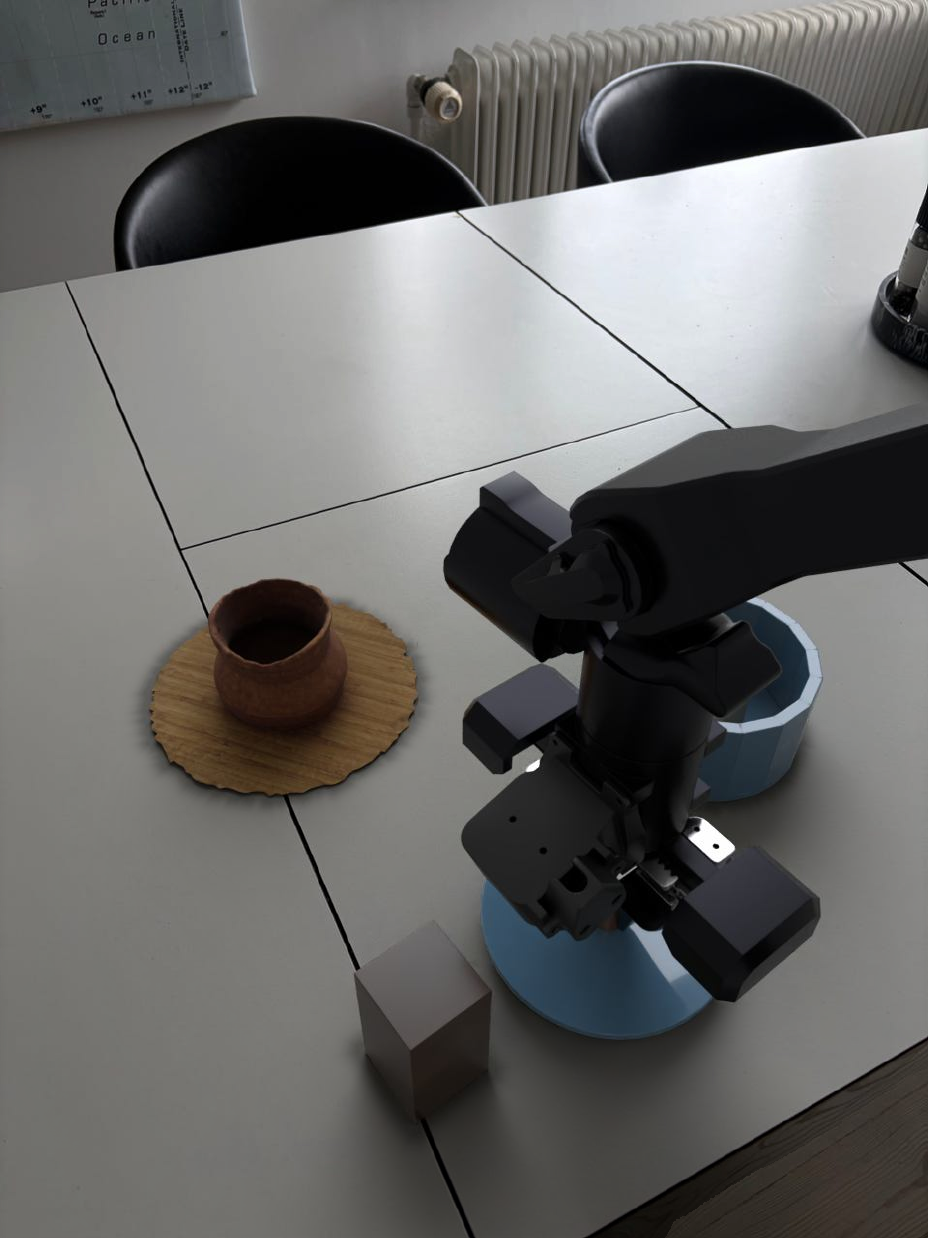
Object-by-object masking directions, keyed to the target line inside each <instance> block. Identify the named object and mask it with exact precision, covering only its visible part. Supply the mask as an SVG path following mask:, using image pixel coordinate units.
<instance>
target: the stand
mask: <svg viewBox="0 0 928 1238" xmlns="http://www.w3.org/2000/svg"><path fill="white" fill-rule="evenodd" d="M353 979H354V985H355V993H356V999H357V1006H358V1012H359V1013H358V1014H359V1020H360V1027H361V1033H362V1040H363V1047H364V1052H365V1053H366V1055H367V1056H368V1058H369V1060H370V1061H371V1062H372V1064H373V1065H374V1067H375V1068H376V1069H377V1071H378V1072H379V1074H380V1075H381V1077H382V1078H383V1079H384V1081H385V1082H386V1084H387V1085H388V1086H389V1088H390V1090H391V1091H392V1093H393V1094H394V1095H395V1097H396V1098H397V1100H398V1101H399V1103H400V1104H401V1105H402V1107H403V1108H404V1110H405V1111H406V1113H407V1115H408V1116H409V1117H410V1119H411V1120H412V1122H413V1123H414V1124H415V1125H418V1124H419V1123H420V1122H422V1120H424V1119H425V1118H426V1117H428V1116H429V1115H430V1114H432V1113H433V1112H434V1111H435V1110H437V1109H438V1108H439V1107H440V1106H442V1105H443V1104H444V1103H446V1102H447V1101H448V1100H449V1099H451V1098H452V1097H453V1096H454V1095H456V1094H457V1093H458V1092H459V1091H461V1090H462V1089H463V1088H465V1087H466V1086H467V1085H469V1084H470V1083H471V1082H473V1081H474V1080H475V1079H476V1078H478V1077H479V1076H480V1075H481V1074H483V1073H484V1072H485V1071H487V1070H488V1069H489V1060H490V1040H491V1019H492V1018H491V1017H492V995H493V991H492V989H491V988H490V987H489V985H488V984H487V983H486V982H485V980H484V979H483V978H482V977H481V976H480V974H479V973H478V972H477V971H476V969H475V968H474V967H473V966H472V965H471V963H470V962H469V961H468V960H467V959H466V957H465V956H464V955H463V953H462V952H461V951H460V950H459V949H458V948H457V947H456V945H455V944H454V943H453V941H452V940H451V939H450V937H449V936H448V935H447V934H446V933H445V932H444V930H443V929H442V928H441V927H440V926H439V924H438V923H437V922H436V921H435V920H434V919H431V920H429V921H428V922H427V923H424V925H422V926H420V927H419V928H417V930H415V931H414V932H412V933H410V934H409V935H407V936H406V937H405V938H403V939H401V940H400V941H399V942H397V943H396V944H394V945H392V946H391V947H390V948H388V949H387V950H385V951H383V952H382V953H380V954H379V955H378V956H376V957H374V958H373V959H372V960H371V961H369V962H368V963H366V964H365V965H363V966H362V967H360V968H358V969H357V970H356V971H354V972H353Z"/></svg>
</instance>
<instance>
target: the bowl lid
mask: <svg viewBox="0 0 928 1238" xmlns="http://www.w3.org/2000/svg"><path fill="white" fill-rule="evenodd" d="M636 867H637V866H635V867H634V868H632V869H631V870H630V871H628V872H627V873H625V874H624V875H621V874H619V875H618V876H617V879H618V880H620V879H621V878H622V877H624V876H625V875H627V874H628V873H629V872H631V871H632V870H633V869H635V868H636ZM480 897H481V898H480V925H481V927H480V928H481V932H482V938H483V942H484V946H485V948H486V951H487V953H488V956H489V958H490V961H491V963H492V964H493V967H494V968H495V970H496V972H497V973H498V975H499V976H500V978H501V980H502V981H503V982H504V983H505V985H506V987H508V989H509V990H510V991H511V993H513V994H514V995H515V996H516V997H517V998H518V999H519V1000H520V1001H521V1002H523V1004H524V1005H526V1006H527V1007H528V1008H529V1009H530V1010H532V1011H533V1012H534V1013H536V1014H538V1015H539V1016H541V1017H542V1018H544V1019H546V1021H549V1022H550V1023H553V1024H555V1025H557V1026H559V1027H561V1028H563V1029H565V1030H568V1031H571V1032H574V1033H577V1034H580V1035H583V1036H588V1037H593V1038H597V1039H603V1040H604V1039H605V1040H619V1041H621V1040H636V1039H637V1040H638V1039H643V1038H648V1037H654V1036H657V1035H660V1034H664V1033H666V1032H668V1031H671V1030H673V1029H675V1028H678V1027H679V1026H682V1025H683V1024H686V1023H687V1022H689V1021H691V1019H693V1018H694V1017H695V1016H697V1015H698V1014H700V1013H701V1012H702V1011H703V1010H705V1008H706V1007H707V1006H708V1005H709V1004H710V1003H711V1002H712V1001H713V999H714V998H713V997H712V996H711V995H710V994H709V993H708V992H707V991H706V990H705V989H704V988H703V987H702V986H701V985H700V984H699V983H698V982H697V981H696V980H695V979H694V978H693V977H692V976H691V975H690V974H689V973H688V971H687V970H686V969H685V968H684V967H683V966H682V965H681V964H680V963H679V962H678V961H677V960H676V959H675V958H674V957H673V956H672V955H671V953H670V951H669V949H668V947H667V944H666V942H665V940H664V938H663V936H662V934H661V933H662V930H659V931H655V932H648V931H645V930H643V929H641V928H640V927H639V926H638V925H637V924H636V923H634V924H632V925H631V926H630V927H628V928H627V929H626V930H625V931H623V932H621V931H620V930H619V929H618V928H617V923H616V913H617V910H616V911H615V912H614V913H613V914H612V915H611V916H610V917H609V918H608V919H607V920H606V921H605V922H604V923H603V924H602V925H601V926H600V927H599V928H598V929H597V930H596V931H594V932H593V933H592V934H591V935H590V936H589V937H588V938H586V939H584V940H582V941H575V940H574V939H573V937H572V936H571V935H570V934H569V933H568V932H567V931H559V932H558V933H557V934H556V935H555V936H553V937H551V938H549V939H547V938H546V937H545V936H544V935H543V934H542V932H540V930H539V929H538V928H537V927H536V926H532V925H530V924H528V923H527V922H525V921H524V920H523V919H522V918H521V916H520V915H519V914H518V913H517V912H516V911H515V910H514V908H513V907H512V906H511V905H510V904H509V903H508V902H507V901H506V899H505V898H504V897H503V896H502V895H501V894H500V893H499V892H498V891H497V889H496V888H495V887H494V886H493V885H492V884H491V883H490V882H489V881H488V880H487V878H486V877H485V880H484V883H483V887H482V892H481V896H480Z"/></svg>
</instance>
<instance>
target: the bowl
mask: <svg viewBox="0 0 928 1238" xmlns="http://www.w3.org/2000/svg"><path fill="white" fill-rule="evenodd" d="M724 614H725V615H727V616H728V617H729V618H730V619H731V621H732V622H733V623H736V622H739V621H741V620H743V621H747V622H748V623H749V624H750V626H751V628H752V631H753V633H754V635H755V636H756V638H757V639H758V640H759V641H760V642H762V643H763V644H765V645H766V646H767V647H769V648H770V649H771V651H772V652H773V654H774V656H775V657H776V659H777V661H778V662H779V664H780V666H781V668H782V673H781V675H780V676H779V677H778V678H777V679H775V680H774V681H773V682H771V683H770V684H769V685H767V686H766V687H765V688H763V689H762V690H761V691H759V692H758V693H756V694H755V695H754V696H752V697H751V698H750V700H749V704H748V707H747V710H746V714H745V717H744V721H743V723H740V724H738V723H728V722H718V721H717V722H718V723H720V724H721V725H722V726H723V727H725V728H726V729H727V733H726V737H725V740H724V744H723V745H722V746H721V747H719V748H718V749H716V750H715V751H713V752H712V753H710V754H709V755H708V756H706V757H705V758H704V756H703V760H702V764H701V768H700V772H699V775H698V777H699V778H700V779H702V780H703V781H704V782H705V783H706V784H707V785H709V786H710V787H711V791H710V795H709V798H708V801H707V802H711V803H712V802H713V803H717V802H731V801H738V800H743V799H747V798H749V797H753V796H755V795H758V794H761V793H763V792H764V791H766V790H768V789H770V788H771V787H772V786H774V785H775V784H776V783H777V782H779V781H780V780H781V779H783V778H784V775H786V773H788V771H789V770H790V769H791V766H792V764H793V762H794V760H795V758H796V754H797V752H798V750H799V747H800V745H801V742H802V741H803V737H804V734H805V732H806V729H807V727H808V723H809V720H810V718H811V715H812V712H813V710H814V707H815V704H816V701H817V698H818V695H819V692H820V690H821V687H822V684H823V681H824V675H823V670H822V664H821V658H820V653H819V649H818V647H817V646H816V644H815V643H814V642H813V640H812V639H811V637H810V636H809V635H808V634H807V632H806V631H805V630H804V628H803V627H802V626H801V624H800V623H799V622H798V621H797V620H795V619H794V618H792V617H791V616H789V615H788V614H787V613H785V612H783V611H782V610H780V609H779V608H778V607H776V605H773V604H772V603H770V602H769V601H767V600H765V599H761V598H758V597H755V598H753V599H751V600H749V601H746V602H744V603H742V604H740V605H738V606H736V607H734V608H732V609H730V610H728V611H726V612H724Z"/></svg>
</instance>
